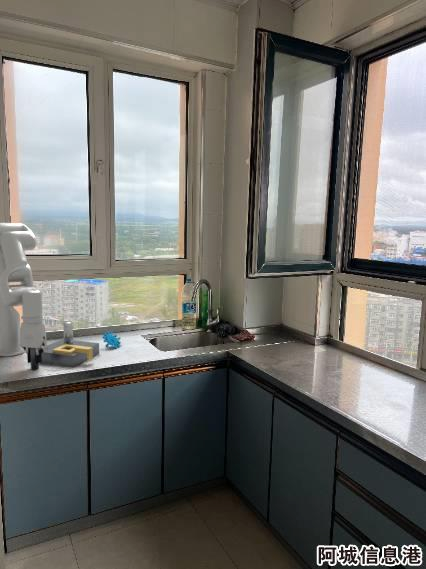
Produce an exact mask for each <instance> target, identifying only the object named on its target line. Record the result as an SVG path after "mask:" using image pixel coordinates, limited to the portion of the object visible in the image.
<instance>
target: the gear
mask: <svg viewBox="0 0 426 569" xmlns="http://www.w3.org/2000/svg"><path fill="white" fill-rule="evenodd" d="M102 339H103V343H106V344H105V345H104V346H105V347H109V348H110V349H115V350H117V349H118V348H120V347H121V345H120V344H121V343H122V342H121V341H120V340H121V339H122V338H121V337H120V336H119V337H118V335H117V334H114V332H113V331H106V332H104V333H103V336H102ZM109 345H110V346H109Z"/></svg>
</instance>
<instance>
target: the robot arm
mask: <svg viewBox="0 0 426 569" xmlns="http://www.w3.org/2000/svg"><path fill="white" fill-rule="evenodd" d="M36 246H37V237H36V235H35V234H34V232H33V231H32V230H31V229H30V228H29V227H28V226H27V225H26V224H24V223H22V222H0V357H14V356H18V355H21V354H23V353H25V354H26V357H27V364H31V362H30V348H35V349H36V355H35V364H39V365H40V364H42V363H41V362H42V353H43V352H44V350H46V349H48V345H49V344H47V342H48V341H47V340H48V339H47V332H46V326H45V323H44V321H43V320H44V319H43V317H44V316H43V294H42V291H41V290H40V289H37V288H36V287H35V285H34V284H35V283H34V278H33V272H32V268H31V266H30V264H29V263H28V260H27V256H26V251H33V250H35V249H36ZM9 283H19V284H10V285H9ZM19 306H22V307H21V308H22V309H21V310H22V312H21V313H22V316H20V313H19V311H18V310H17V309H16V308H15V307H19ZM21 320H22V322H21ZM42 347H43V348H42Z"/></svg>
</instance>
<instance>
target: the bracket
mask: <svg viewBox="0 0 426 569" xmlns="http://www.w3.org/2000/svg"><path fill="white" fill-rule="evenodd" d="M66 348H70V350H66ZM53 352H57V353H65V354H72V353H74V352H78V353H86V354H87V360H86V361H91V360H93V359H94V357H93V347H84V346H77V345H68V344H65V345H62V346H60V347H58V348H55V349H53Z"/></svg>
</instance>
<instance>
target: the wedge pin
mask: <svg viewBox="0 0 426 569" xmlns="http://www.w3.org/2000/svg"><path fill="white" fill-rule="evenodd" d="M35 355H36V349H35V348H30V362H31V363H30V370H32V371H36V370H39V369H40V363H39V364H35Z"/></svg>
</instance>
